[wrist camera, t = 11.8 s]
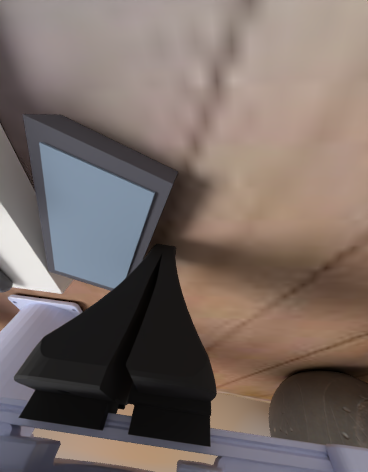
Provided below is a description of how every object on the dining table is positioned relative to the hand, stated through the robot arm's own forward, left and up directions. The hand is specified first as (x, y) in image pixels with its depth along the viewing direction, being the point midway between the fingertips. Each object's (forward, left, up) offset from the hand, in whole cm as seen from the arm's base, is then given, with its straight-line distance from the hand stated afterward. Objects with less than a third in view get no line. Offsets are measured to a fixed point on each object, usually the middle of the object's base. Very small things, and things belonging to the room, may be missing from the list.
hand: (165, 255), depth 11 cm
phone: (+2, +4, -2) cm, 5 cm away
